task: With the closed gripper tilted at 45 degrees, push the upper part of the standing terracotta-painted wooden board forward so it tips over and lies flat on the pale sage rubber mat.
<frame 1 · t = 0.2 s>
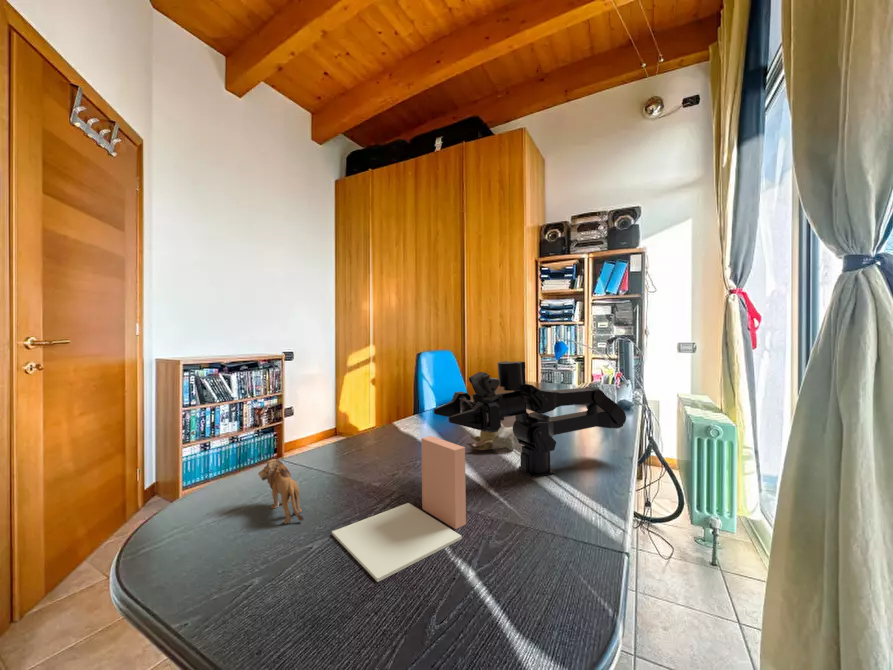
hand: (441, 415, 80), 16 cm above the table, fingers open, 9 cm apart
terracotta board: (443, 516, 68), on the table
rubber mat: (395, 536, 61), on the table
ceramic sculpture: (494, 449, 108), on the table
lion figurine: (282, 511, 71), on the table
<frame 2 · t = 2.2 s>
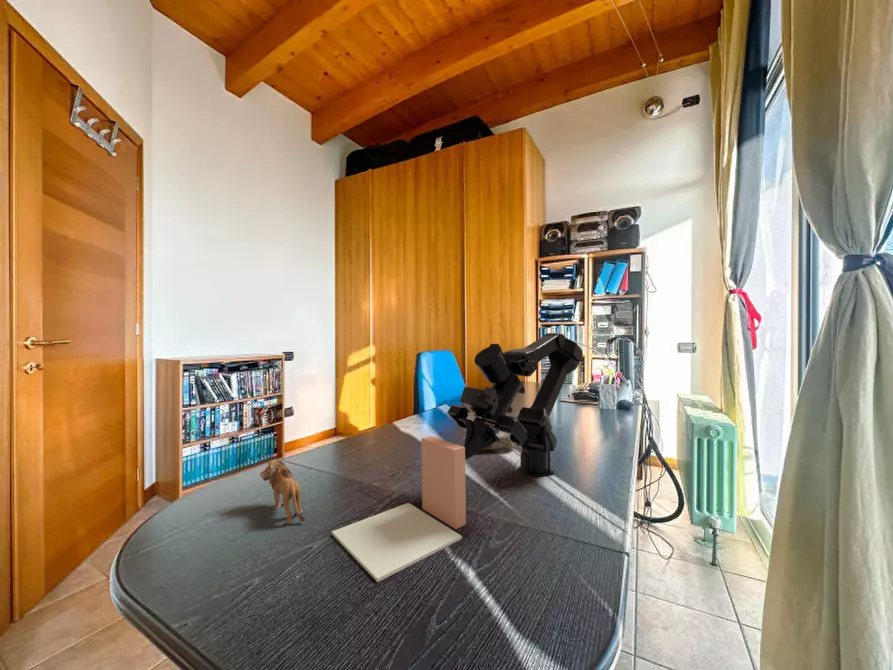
hand: (464, 457, 72), 10 cm above the table, fingers closed
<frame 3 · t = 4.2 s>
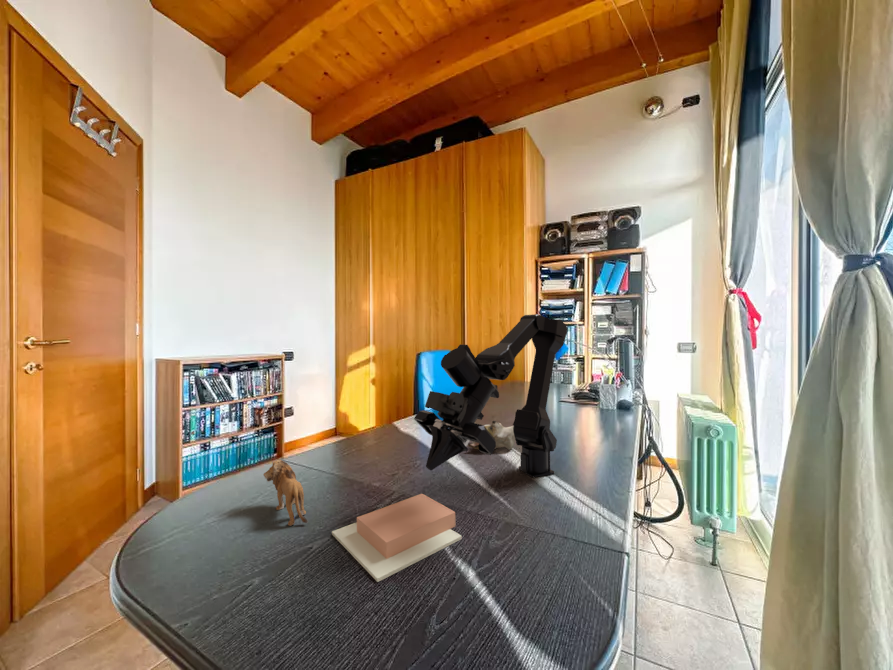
hand: (428, 468, 66), 10 cm above the table, fingers closed
terracotta board: (437, 508, 67), point 2 cm above the table, tilted 90°, touching rubber mat
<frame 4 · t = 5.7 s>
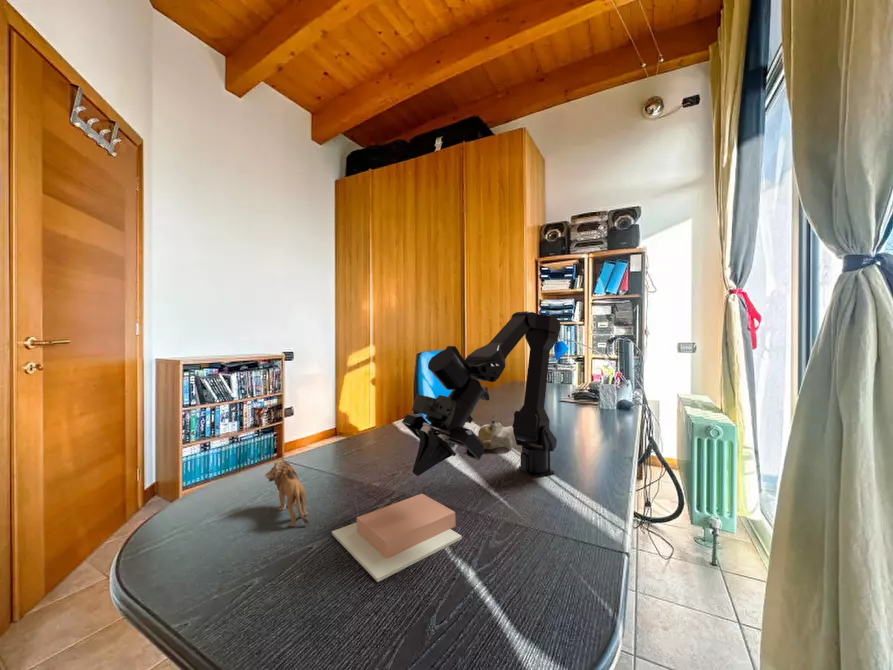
hand: (415, 474, 64), 10 cm above the table, fingers closed
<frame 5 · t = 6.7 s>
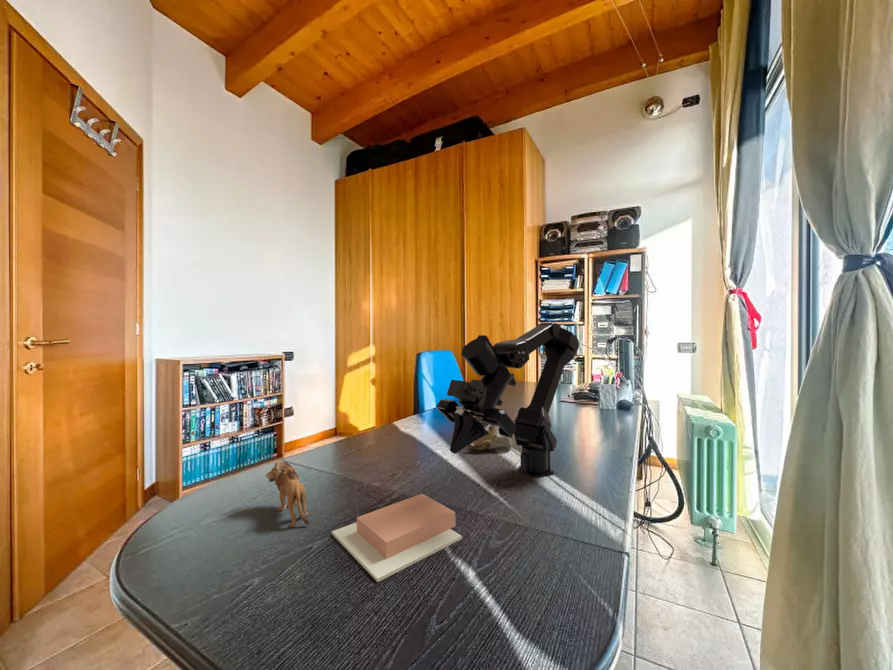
hand: (452, 452, 70), 11 cm above the table, fingers closed
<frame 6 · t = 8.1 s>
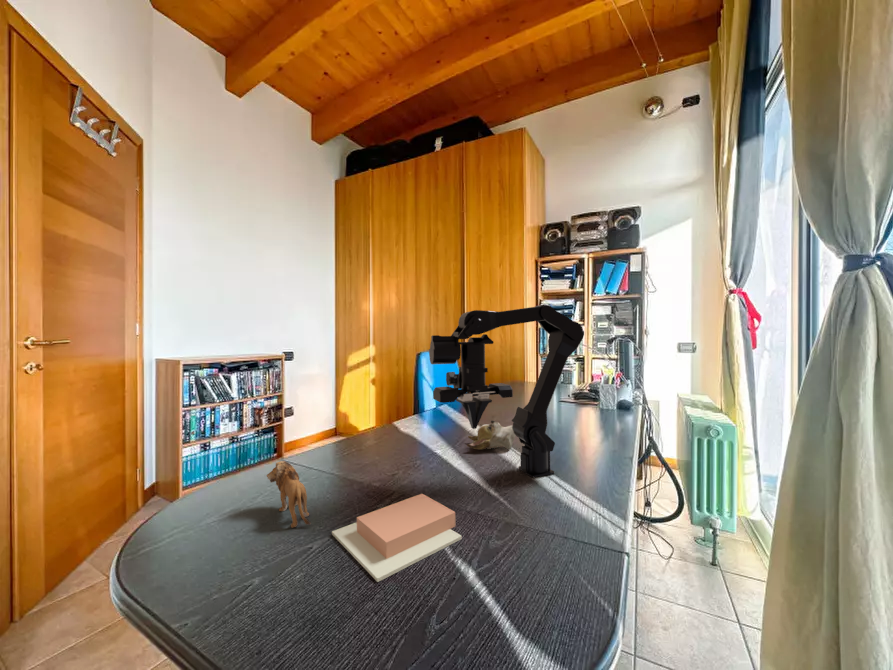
hand: (473, 428, 86), 12 cm above the table, fingers closed
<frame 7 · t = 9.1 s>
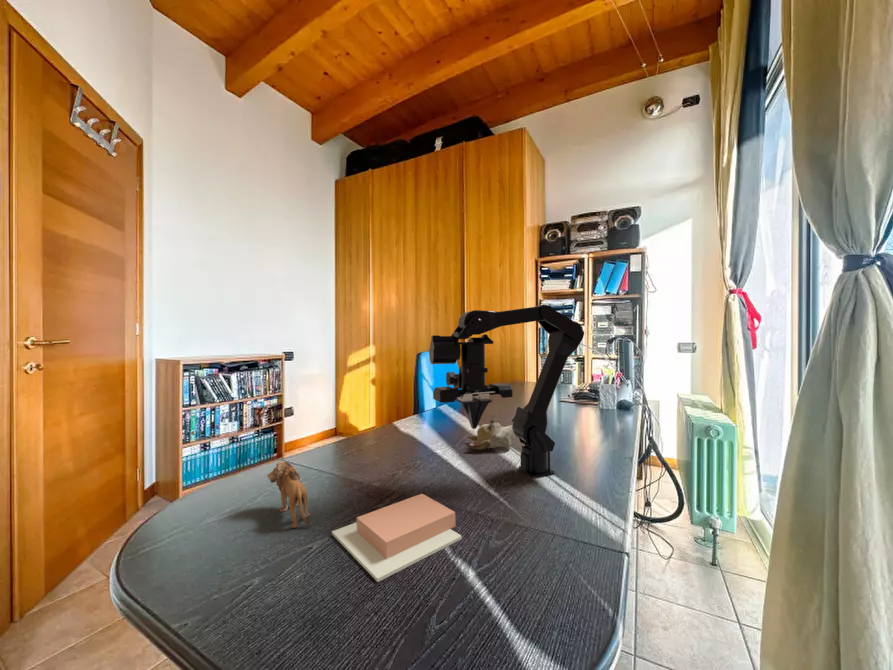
hand: (473, 428, 86), 12 cm above the table, fingers closed
at the end: terracotta board tilted 90°; terracotta board touching rubber mat; terracotta board inside the target area (3.7 cm from its centre), point 1.7 cm above the table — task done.
